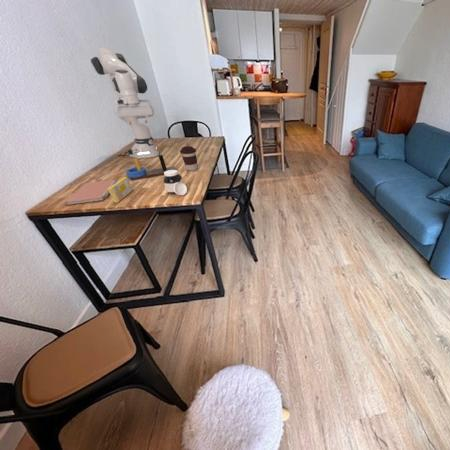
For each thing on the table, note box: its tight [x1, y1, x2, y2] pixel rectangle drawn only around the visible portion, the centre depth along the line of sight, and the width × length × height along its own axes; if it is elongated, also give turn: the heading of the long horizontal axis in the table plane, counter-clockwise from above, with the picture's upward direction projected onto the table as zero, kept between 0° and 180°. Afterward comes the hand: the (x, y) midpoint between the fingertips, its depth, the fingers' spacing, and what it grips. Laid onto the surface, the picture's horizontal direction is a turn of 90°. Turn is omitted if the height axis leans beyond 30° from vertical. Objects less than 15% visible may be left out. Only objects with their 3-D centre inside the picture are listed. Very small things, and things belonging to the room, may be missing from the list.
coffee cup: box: [179, 145, 199, 172], centre depth 169 cm, size 10×10×15 cm
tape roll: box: [125, 166, 147, 179], centre depth 159 cm, size 11×11×3 cm
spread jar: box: [163, 169, 188, 196], centre depth 136 cm, size 12×11×12 cm
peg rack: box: [130, 154, 176, 181], centre depth 162 cm, size 26×10×12 cm, turn 122°
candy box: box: [108, 176, 134, 204], centre depth 133 cm, size 16×2×8 cm, turn 5°
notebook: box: [65, 179, 118, 206], centre depth 139 cm, size 27×17×2 cm, turn 19°
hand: (138, 123), depth 163 cm, fingers open, 8 cm apart
